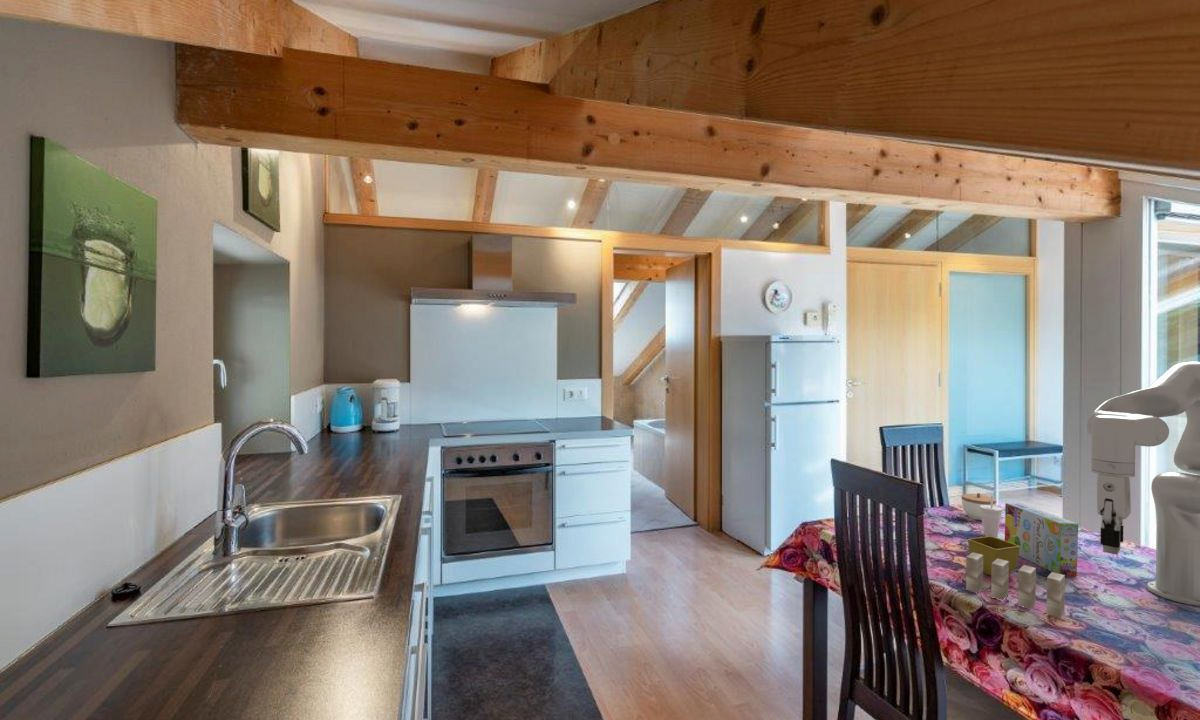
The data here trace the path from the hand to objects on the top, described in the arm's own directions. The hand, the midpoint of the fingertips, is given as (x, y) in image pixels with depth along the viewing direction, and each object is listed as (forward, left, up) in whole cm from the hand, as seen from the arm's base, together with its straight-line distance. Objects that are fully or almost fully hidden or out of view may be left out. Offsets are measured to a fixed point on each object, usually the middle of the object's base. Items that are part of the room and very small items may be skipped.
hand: (1111, 542), depth 126 cm
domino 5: (0, 0, -2) cm, 2 cm away
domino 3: (+14, +10, -17) cm, 24 cm away
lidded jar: (+44, -63, -18) cm, 79 cm away
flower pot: (+25, -6, -18) cm, 31 cm away
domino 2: (+20, +10, -17) cm, 28 cm away
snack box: (+19, -27, -18) cm, 37 cm away
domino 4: (+9, +10, -17) cm, 22 cm away
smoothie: (+35, -43, -18) cm, 58 cm away
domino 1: (+25, +10, -17) cm, 32 cm away
